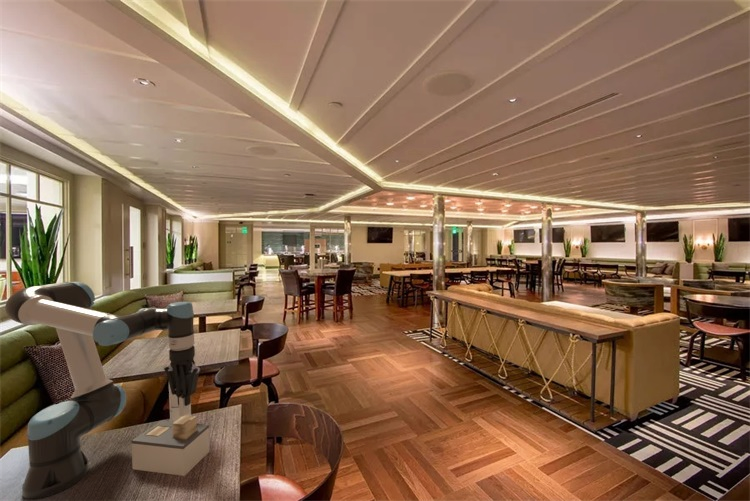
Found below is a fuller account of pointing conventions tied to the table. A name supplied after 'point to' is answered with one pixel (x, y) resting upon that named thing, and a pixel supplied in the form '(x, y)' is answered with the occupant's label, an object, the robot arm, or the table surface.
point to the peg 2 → (184, 427)
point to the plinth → (169, 450)
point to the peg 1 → (157, 431)
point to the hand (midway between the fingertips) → (184, 413)
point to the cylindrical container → (175, 407)
